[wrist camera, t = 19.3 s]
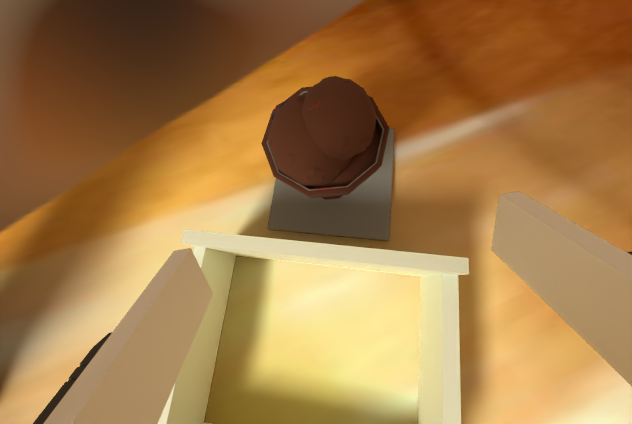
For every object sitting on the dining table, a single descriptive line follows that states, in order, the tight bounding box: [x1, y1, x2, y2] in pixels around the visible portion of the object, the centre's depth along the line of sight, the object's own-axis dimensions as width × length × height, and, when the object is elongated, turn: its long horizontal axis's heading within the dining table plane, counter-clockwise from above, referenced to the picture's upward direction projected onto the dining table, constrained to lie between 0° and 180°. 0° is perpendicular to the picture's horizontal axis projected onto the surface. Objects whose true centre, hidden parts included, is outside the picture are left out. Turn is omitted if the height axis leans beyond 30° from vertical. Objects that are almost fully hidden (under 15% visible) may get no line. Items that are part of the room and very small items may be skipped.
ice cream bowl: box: [262, 76, 389, 200], centre depth 25 cm, size 11×11×15 cm
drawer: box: [158, 230, 469, 424], centre depth 23 cm, size 23×19×9 cm
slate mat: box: [268, 128, 394, 241], centre depth 32 cm, size 14×14×1 cm
